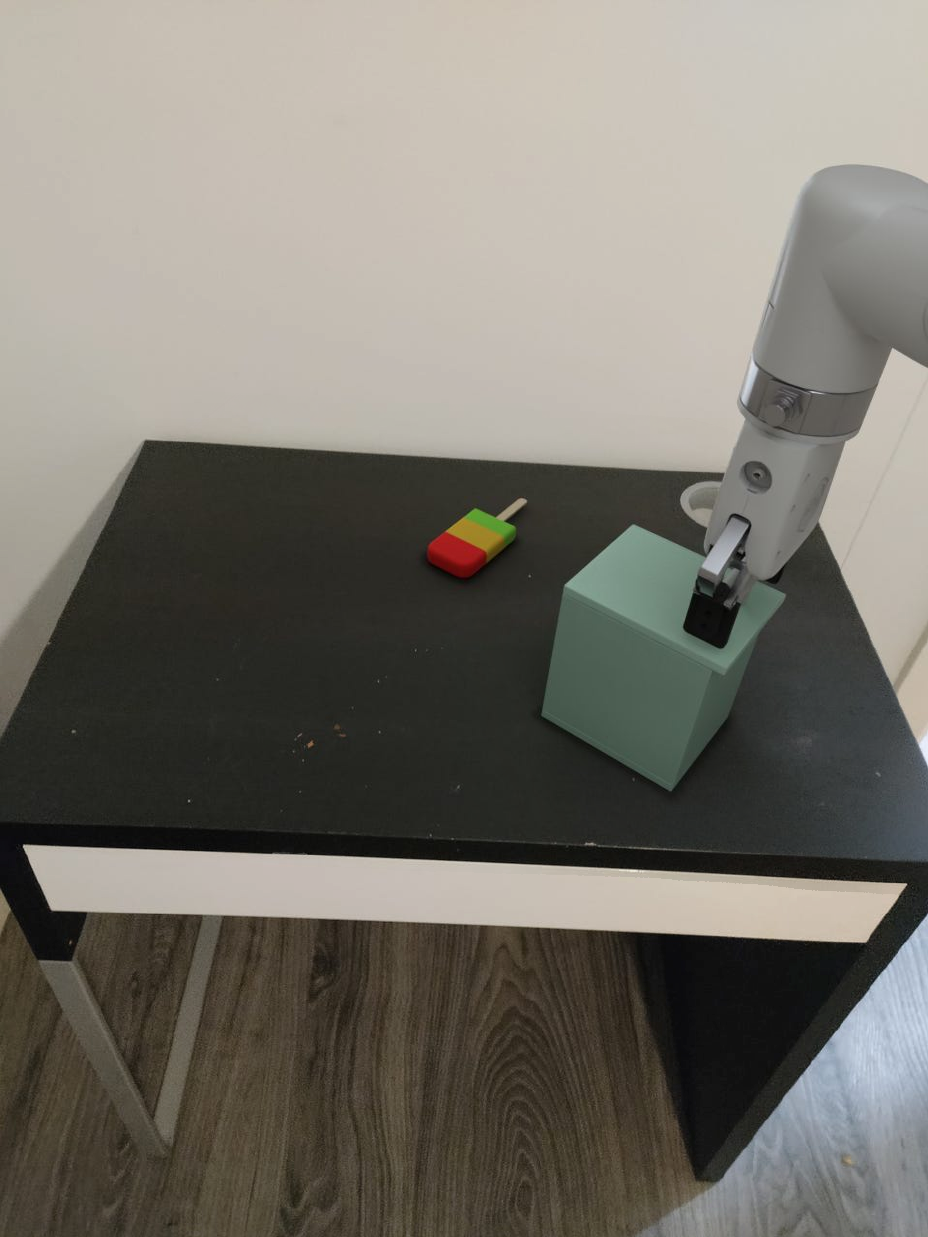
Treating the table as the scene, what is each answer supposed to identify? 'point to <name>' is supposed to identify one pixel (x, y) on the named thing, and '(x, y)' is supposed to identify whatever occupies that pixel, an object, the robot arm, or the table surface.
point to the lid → (667, 595)
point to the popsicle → (473, 541)
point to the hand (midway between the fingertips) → (732, 605)
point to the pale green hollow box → (634, 694)
